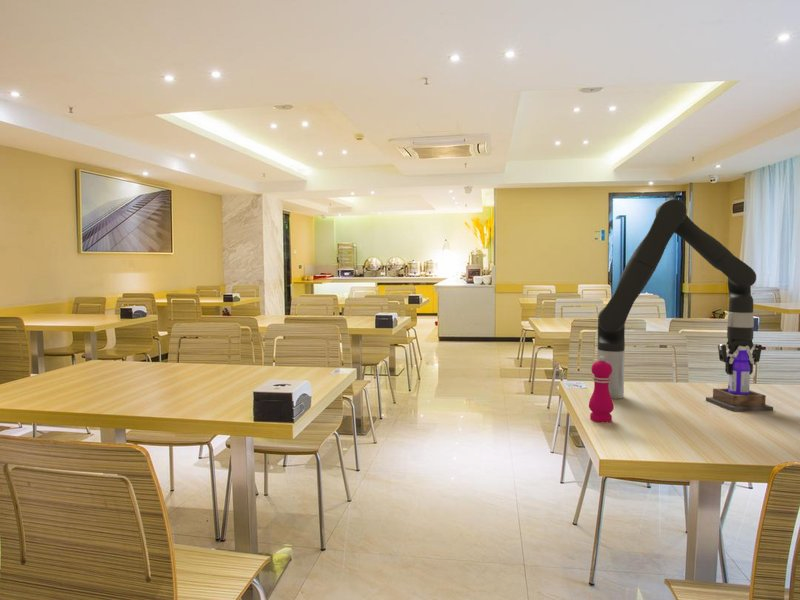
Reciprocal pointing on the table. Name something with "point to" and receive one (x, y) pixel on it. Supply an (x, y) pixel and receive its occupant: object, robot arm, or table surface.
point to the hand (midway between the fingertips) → (738, 374)
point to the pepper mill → (601, 392)
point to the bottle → (740, 374)
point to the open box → (739, 401)
